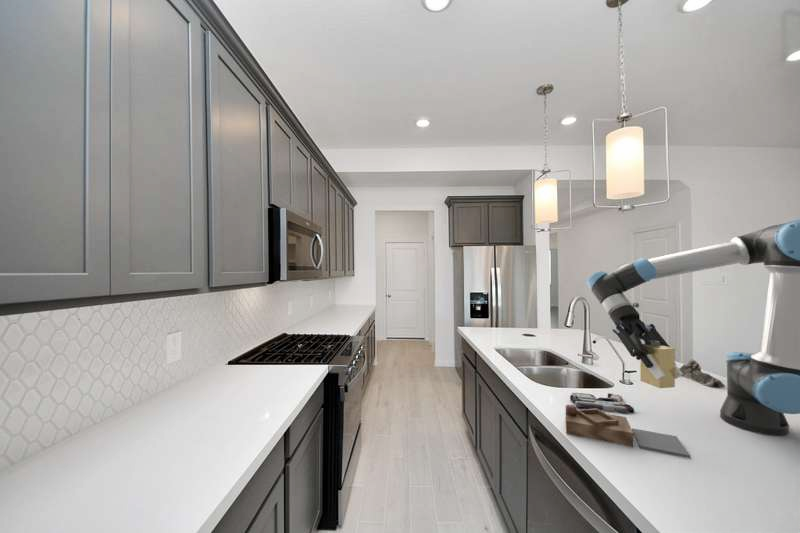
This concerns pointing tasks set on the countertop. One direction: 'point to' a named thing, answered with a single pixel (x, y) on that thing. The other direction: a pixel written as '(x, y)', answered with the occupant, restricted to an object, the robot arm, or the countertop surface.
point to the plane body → (598, 425)
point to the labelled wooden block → (659, 364)
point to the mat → (660, 443)
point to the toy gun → (601, 403)
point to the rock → (699, 375)
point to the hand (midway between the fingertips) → (669, 377)
